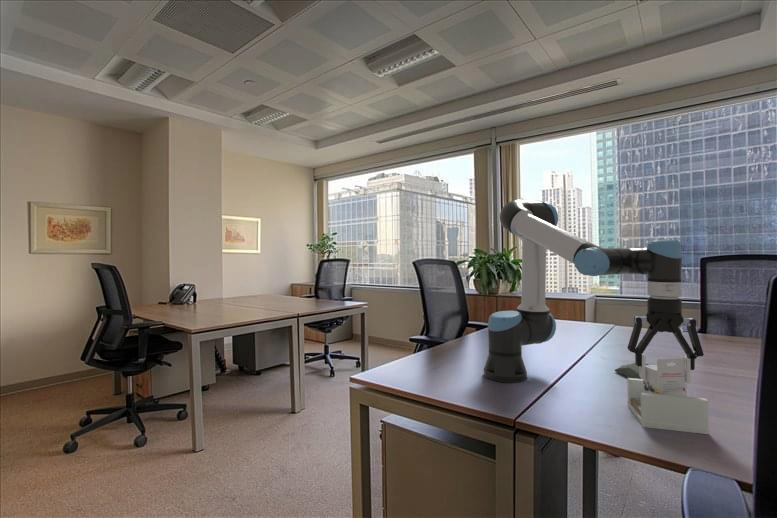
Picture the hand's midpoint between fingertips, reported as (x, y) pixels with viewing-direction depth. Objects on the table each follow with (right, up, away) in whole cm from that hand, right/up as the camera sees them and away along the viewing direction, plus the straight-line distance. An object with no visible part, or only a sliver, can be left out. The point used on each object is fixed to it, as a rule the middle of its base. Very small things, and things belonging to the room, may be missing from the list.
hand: (664, 379), depth 104 cm
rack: (0, -10, 0) cm, 10 cm away
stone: (+18, -10, +34) cm, 40 cm away
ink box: (0, -8, 0) cm, 8 cm away
